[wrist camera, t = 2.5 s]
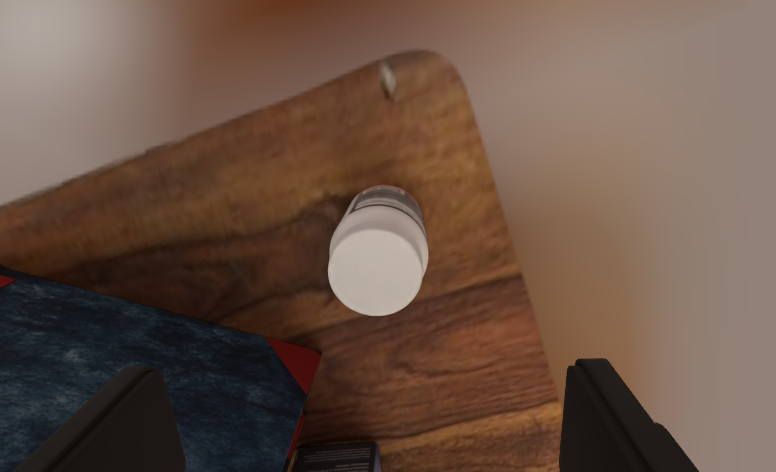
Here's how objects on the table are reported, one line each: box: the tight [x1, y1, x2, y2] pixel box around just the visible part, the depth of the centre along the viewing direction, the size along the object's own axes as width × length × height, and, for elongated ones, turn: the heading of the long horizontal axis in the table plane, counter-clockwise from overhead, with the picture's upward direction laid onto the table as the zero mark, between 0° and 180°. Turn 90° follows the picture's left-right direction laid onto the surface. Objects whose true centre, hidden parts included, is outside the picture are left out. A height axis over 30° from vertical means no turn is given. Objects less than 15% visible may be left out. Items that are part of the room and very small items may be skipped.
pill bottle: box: [328, 185, 428, 316], centre depth 21 cm, size 5×5×8 cm
